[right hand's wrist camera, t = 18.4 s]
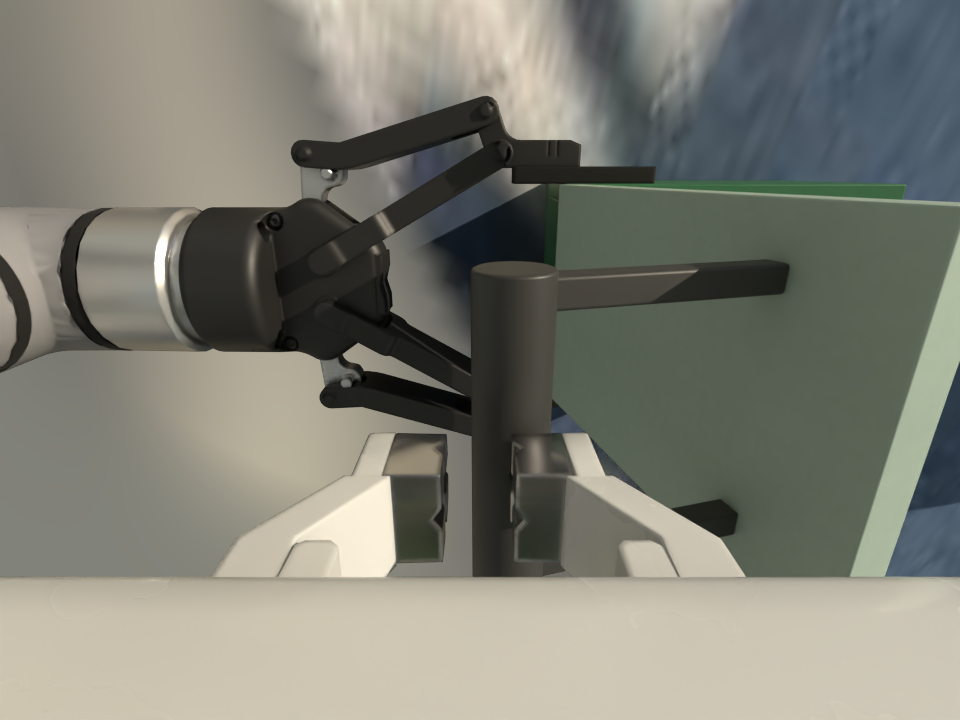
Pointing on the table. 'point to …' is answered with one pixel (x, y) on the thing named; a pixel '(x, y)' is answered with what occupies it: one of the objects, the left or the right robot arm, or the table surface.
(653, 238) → the lid
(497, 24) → the table surface
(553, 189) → the chest
